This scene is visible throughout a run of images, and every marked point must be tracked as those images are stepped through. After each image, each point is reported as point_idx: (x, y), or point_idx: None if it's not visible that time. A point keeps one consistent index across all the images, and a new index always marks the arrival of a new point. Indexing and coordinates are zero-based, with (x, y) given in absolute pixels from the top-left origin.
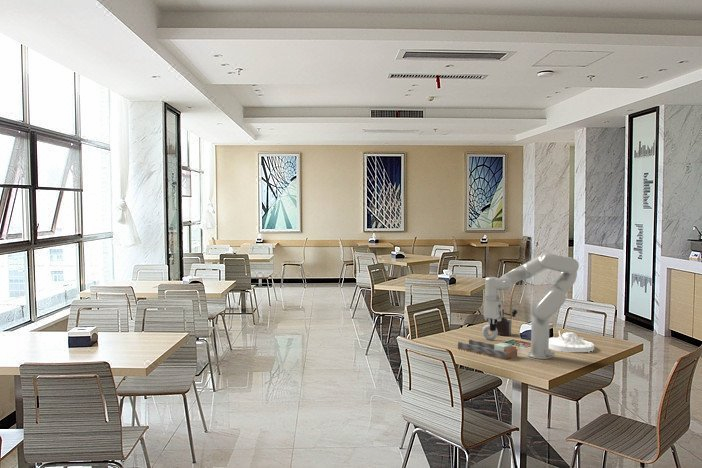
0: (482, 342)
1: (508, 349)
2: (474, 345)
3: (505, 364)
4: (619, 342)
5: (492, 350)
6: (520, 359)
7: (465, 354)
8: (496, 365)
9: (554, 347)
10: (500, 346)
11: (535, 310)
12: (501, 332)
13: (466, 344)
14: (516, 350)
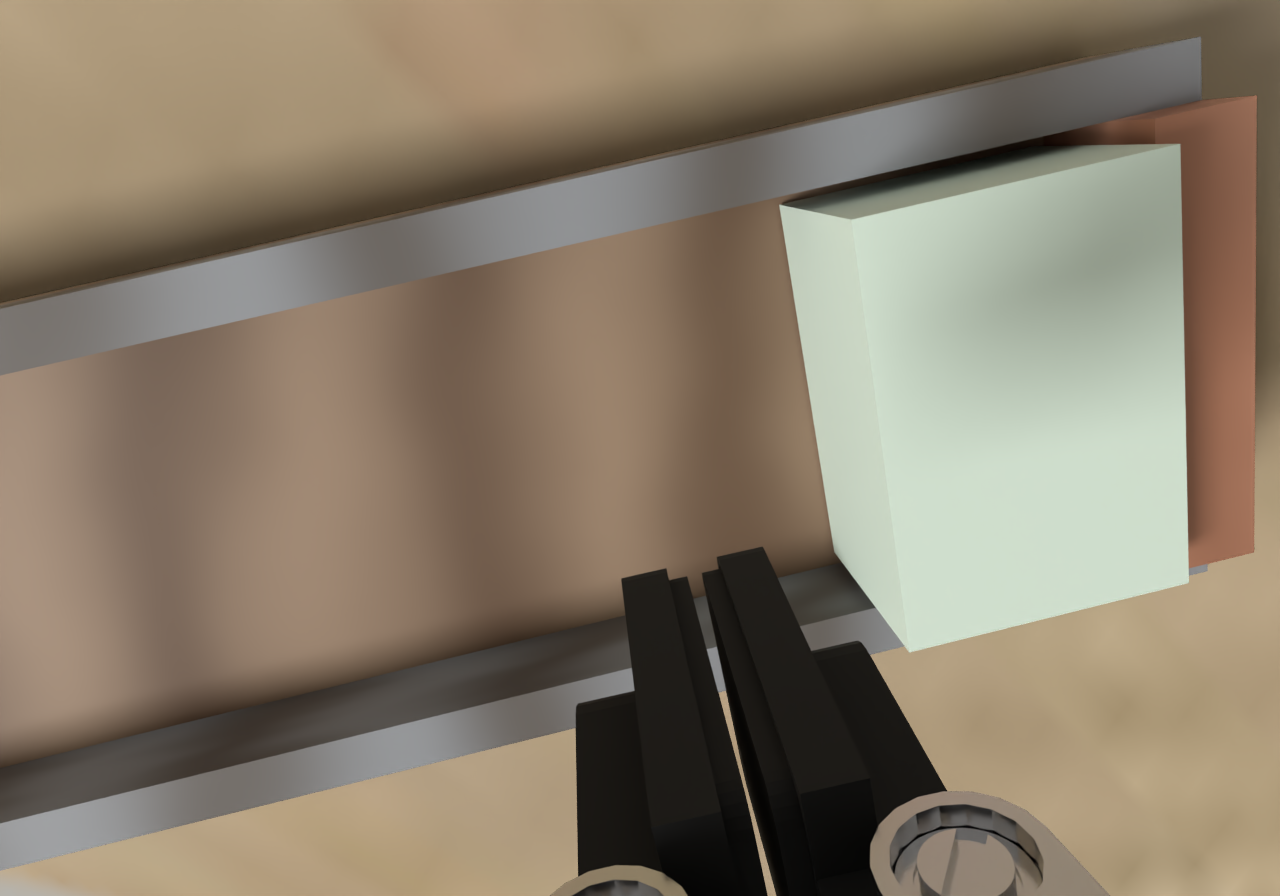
0: (99, 347)
1: (1250, 488)
2: (338, 756)
3: (1273, 705)
4: None
5: (866, 647)
6: (1265, 198)
7: (436, 893)
8: (1215, 858)
9: None
10: (1088, 603)
11: None
12: None
13: (138, 829)
14: (1185, 89)
